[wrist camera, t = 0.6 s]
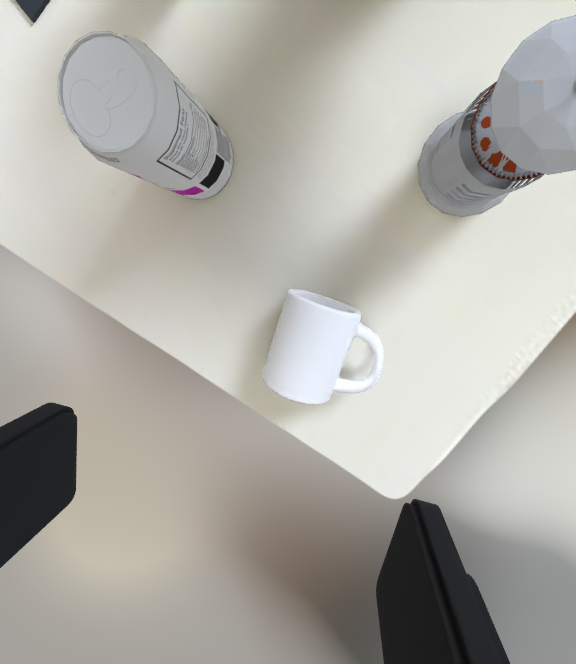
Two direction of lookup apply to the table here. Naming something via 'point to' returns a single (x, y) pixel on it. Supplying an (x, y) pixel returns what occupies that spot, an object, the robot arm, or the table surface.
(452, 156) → the french press
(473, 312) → the table surface
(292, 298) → the mug
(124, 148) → the supplement can
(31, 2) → the mat
